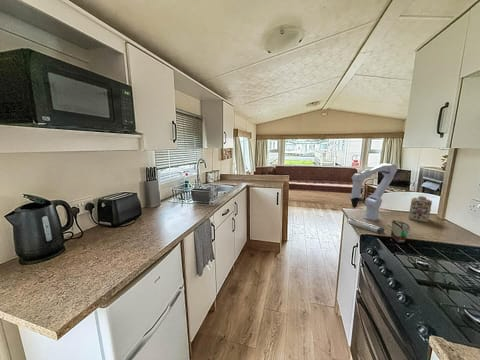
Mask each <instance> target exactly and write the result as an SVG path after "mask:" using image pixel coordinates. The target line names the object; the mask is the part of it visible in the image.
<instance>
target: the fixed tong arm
mask: <svg viewBox="0 0 480 360" xmlns="http://www.w3.org/2000/svg"><path fill="white" fill-rule="evenodd" d="M346 223H347V224H350V225H353V226H355V227H356V226H357V227H359V228H362V229H364V230H367V229H368V230H367V231H370V230H371V231H370V232H373V231H374V232H373V233H376V234H379V235H382V234H383V233H382V229H378V228H375V227H372V226H369V225H366V224H363V223H360V222H357V221H354V220H351V219H350V218H347V219H346ZM381 233H382V234H381Z"/></svg>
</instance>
